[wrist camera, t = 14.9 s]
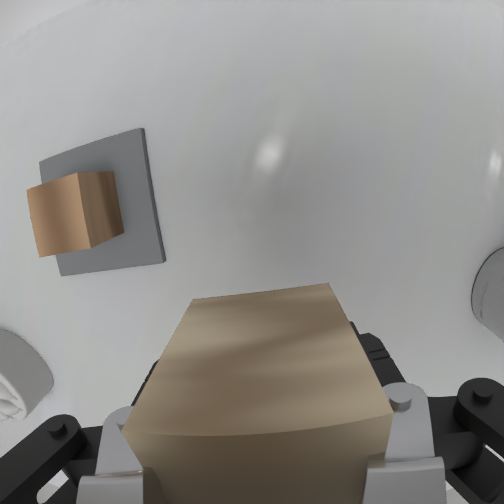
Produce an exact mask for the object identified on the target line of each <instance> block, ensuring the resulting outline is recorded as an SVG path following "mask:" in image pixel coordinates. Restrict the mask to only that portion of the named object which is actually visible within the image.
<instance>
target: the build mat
mask: <svg viewBox="0 0 504 504" xmlns="http://www.w3.org/2000/svg"><path fill="white" fill-rule="evenodd" d="M39 165H40V173H41V181H42V184H44V183H47V182H50V181H53V180H56V179H59V178H62V177H65V176H68V175H71V174H74V173H78V172H103V171H114V176H115V183H116V189H117V195H118V201H119V207H120V213H121V218H122V223H123V228H124V233H123V234H120V235H118V236H116V237H114V238H112V239H110V240H108V241H105V242H103V243H101V244H99V245H97V246H95V247H93V248H90V249H84V250H79V251H73V252H67V253H61V254H56V259H57V263H58V267H59V271H60V274H61V276H67V275H75V274H83V273H90V272H98V271H106V270H113V269H121V268H128V267H136V266H144V265H151V264H159V263H164V262H165V261H166V258H165V254H164V249H163V244H162V239H161V234H160V228H159V223H158V218H157V212H156V207H155V201H154V195H153V189H152V183H151V176H150V170H149V163H148V156H147V149H146V141H145V133H144V129H142V128H139V129H135V130H131V131H128V132H124V133H121V134H118V135H114V136H111V137H108V138H104V139H101V140H98V141H95V142H92V143H89V144H86V145H83V146H80V147H77V148H75V149H72V150H69V151H66V152H64V153H61V154H58V155H56V156H53V157H51V158H48V159H45V160H43V161H41V162H39Z"/></svg>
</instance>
